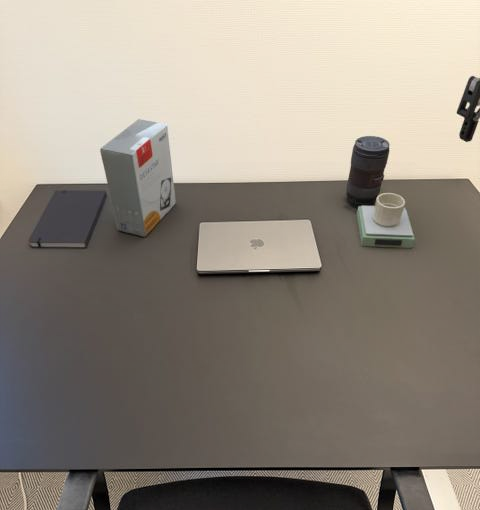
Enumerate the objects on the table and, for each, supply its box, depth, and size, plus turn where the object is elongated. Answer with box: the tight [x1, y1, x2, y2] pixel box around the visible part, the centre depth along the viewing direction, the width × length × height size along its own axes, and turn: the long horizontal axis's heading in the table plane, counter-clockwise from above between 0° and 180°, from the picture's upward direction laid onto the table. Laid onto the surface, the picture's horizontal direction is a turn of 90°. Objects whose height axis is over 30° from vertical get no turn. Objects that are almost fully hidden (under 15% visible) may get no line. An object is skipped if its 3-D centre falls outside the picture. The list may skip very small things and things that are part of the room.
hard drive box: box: [99, 118, 177, 238], centre depth 104 cm, size 16×8×20 cm, turn 158°
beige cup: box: [372, 192, 406, 227], centre depth 103 cm, size 6×6×5 cm
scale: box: [356, 205, 416, 249], centre depth 106 cm, size 11×12×3 cm
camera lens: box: [345, 135, 390, 209], centre depth 110 cm, size 8×8×15 cm
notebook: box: [28, 189, 108, 249], centre depth 110 cm, size 13×2×21 cm
